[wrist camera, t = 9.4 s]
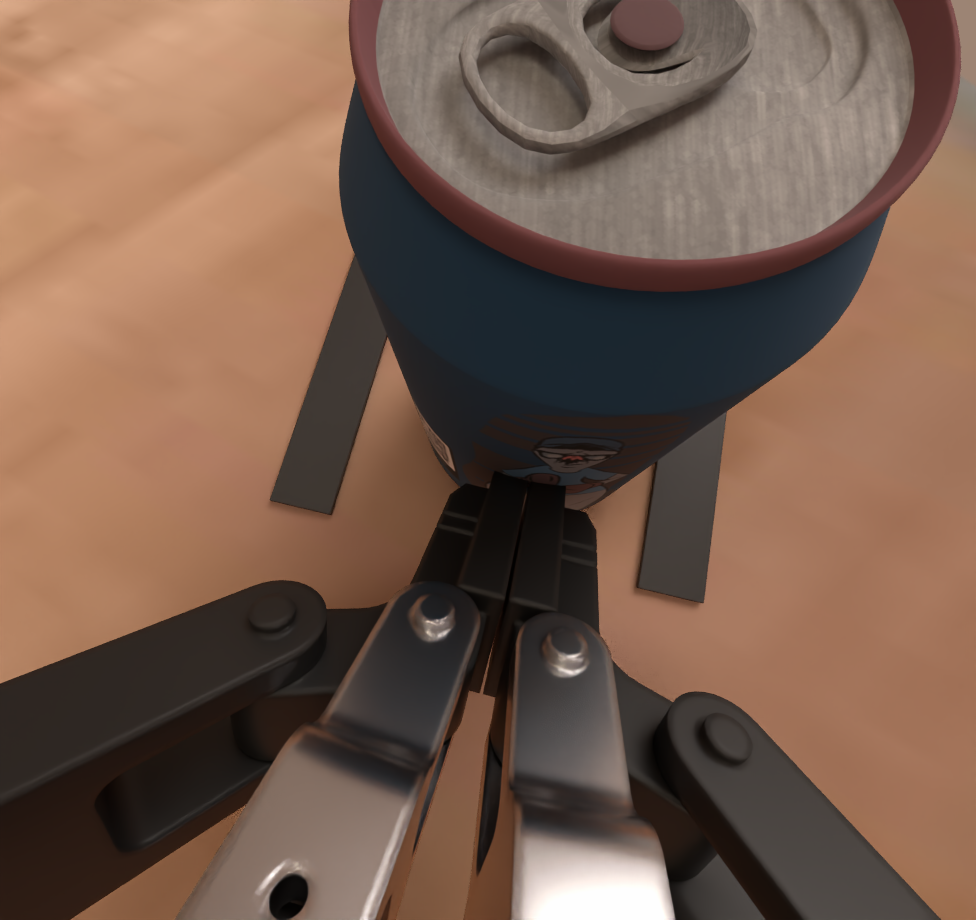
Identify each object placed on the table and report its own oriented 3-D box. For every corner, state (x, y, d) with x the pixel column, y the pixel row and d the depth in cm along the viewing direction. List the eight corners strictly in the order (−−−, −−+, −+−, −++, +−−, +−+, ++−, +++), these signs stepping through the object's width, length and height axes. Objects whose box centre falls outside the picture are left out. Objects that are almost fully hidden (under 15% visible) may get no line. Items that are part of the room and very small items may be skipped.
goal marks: (701, 603, 15) (703, 603, 15) (271, 500, 15) (269, 500, 15) (741, 273, 18) (743, 270, 17) (375, 199, 18) (375, 196, 18)
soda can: (564, 293, 17) (725, -299, 6) (678, 454, 16) (1207, 107, 4) (392, 384, 16) (165, -93, 5) (496, 564, 15) (532, 506, 3)
